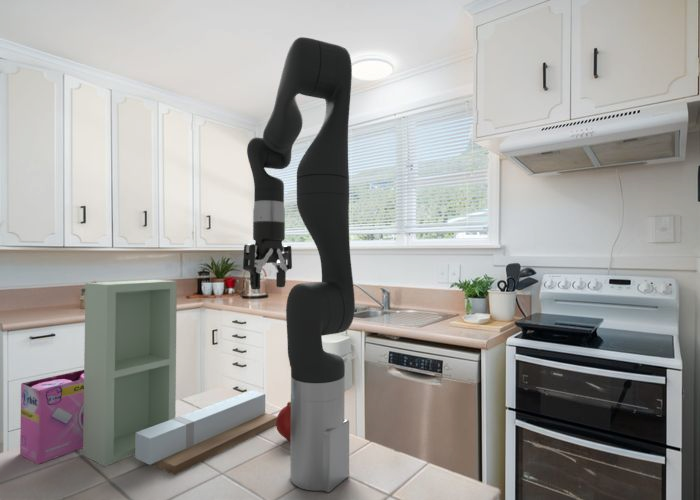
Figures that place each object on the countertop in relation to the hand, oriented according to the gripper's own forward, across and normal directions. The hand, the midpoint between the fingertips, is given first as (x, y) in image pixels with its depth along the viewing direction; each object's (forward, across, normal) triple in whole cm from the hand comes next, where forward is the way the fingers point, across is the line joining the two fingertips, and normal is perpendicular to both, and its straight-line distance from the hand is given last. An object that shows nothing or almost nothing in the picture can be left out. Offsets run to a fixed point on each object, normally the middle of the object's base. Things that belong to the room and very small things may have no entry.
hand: (268, 288), depth 98 cm
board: (+30, -16, 0) cm, 34 cm away
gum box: (+30, -29, +22) cm, 47 cm away
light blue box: (+29, -17, 0) cm, 33 cm away
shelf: (+30, -27, +11) cm, 42 cm away
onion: (+30, -8, -14) cm, 34 cm away
